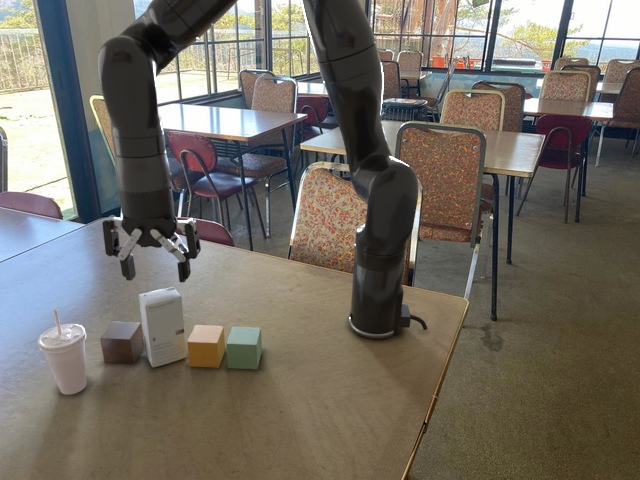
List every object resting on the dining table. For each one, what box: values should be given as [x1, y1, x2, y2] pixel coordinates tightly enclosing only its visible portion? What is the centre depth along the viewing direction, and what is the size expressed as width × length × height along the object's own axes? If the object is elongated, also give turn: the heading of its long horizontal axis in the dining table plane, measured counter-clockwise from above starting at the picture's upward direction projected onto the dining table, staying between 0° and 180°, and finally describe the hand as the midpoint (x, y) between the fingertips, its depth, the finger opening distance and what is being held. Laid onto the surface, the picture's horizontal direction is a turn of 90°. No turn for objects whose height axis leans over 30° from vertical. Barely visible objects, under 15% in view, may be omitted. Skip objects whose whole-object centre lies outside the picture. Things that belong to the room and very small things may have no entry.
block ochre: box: [186, 324, 226, 369], centre depth 82 cm, size 5×5×5 cm
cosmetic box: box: [138, 286, 188, 368], centre depth 81 cm, size 6×4×12 cm
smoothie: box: [37, 307, 87, 396], centre depth 73 cm, size 6×6×14 cm
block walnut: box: [99, 321, 145, 365], centre depth 82 cm, size 5×5×5 cm
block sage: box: [225, 326, 263, 370], centre depth 82 cm, size 5×5×5 cm
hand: (157, 279), depth 77 cm, fingers open, 8 cm apart
